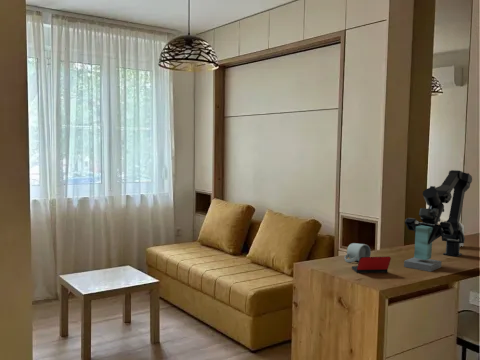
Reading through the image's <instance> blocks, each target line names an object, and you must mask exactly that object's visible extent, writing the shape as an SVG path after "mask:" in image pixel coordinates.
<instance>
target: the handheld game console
mask: <svg viewBox="0 0 480 360" xmlns="http://www.w3.org/2000/svg"><path fill="white" fill-rule="evenodd" d="M391 260H392V257H390V256H370V257H361V258H360V259H359V261H357V262H358V263H357V265H354V266H351V269H352V270H353V271H354V272H356V274H371V273H372V274H373V273H375V274H378V273H379V274H380V273H382V274H384V273H385V274H386V273H388V269H389V266H390V263H391Z"/></svg>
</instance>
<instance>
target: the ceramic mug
mask: <svg viewBox="0 0 480 360" xmlns="http://www.w3.org/2000/svg"><path fill="white" fill-rule="evenodd" d="M371 251H372V250H371V248H370V246H369V245H368V244H365V243H356V242H352V243H350V244H349V245H348V246H347V248H346V255H344V261H345V262H346V263H354V262H359V259H360V258H361V257H371V256H372V255H371V254H372V252H371Z"/></svg>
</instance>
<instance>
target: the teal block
mask: <svg viewBox="0 0 480 360" xmlns="http://www.w3.org/2000/svg"><path fill="white" fill-rule="evenodd" d="M432 231H433V227H429V226H422V225H421V226H417V227H416V232H415V231H414V254H413V257H414V258H418V259H423V260H428V259H432V250H433V248H432V247H433V242H432V243H430V244H428V241H429V238H430V236H431V233H432Z"/></svg>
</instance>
